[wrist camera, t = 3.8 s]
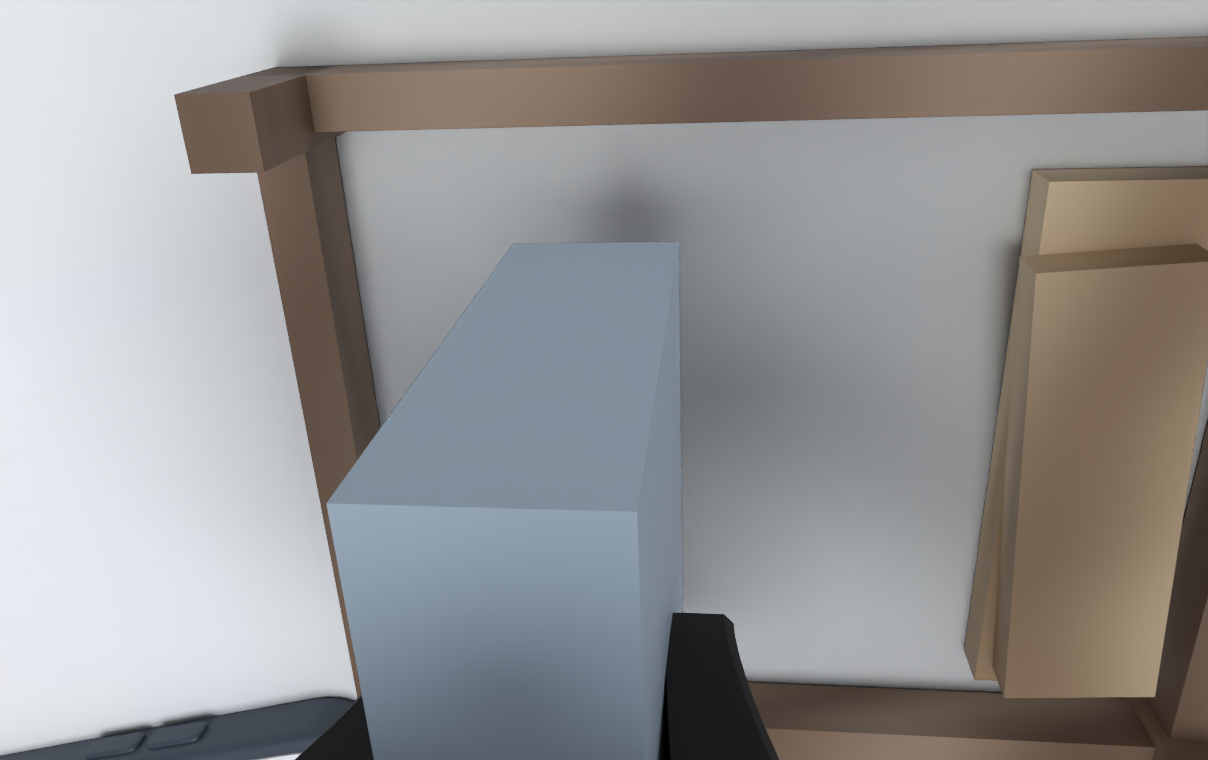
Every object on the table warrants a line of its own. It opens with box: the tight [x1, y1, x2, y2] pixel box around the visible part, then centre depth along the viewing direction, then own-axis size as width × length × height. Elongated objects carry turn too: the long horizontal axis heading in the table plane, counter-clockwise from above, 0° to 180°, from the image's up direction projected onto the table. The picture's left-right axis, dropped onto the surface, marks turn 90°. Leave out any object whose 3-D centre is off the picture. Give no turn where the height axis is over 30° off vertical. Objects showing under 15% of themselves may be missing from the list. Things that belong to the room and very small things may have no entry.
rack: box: [174, 37, 1208, 760], centre depth 15 cm, size 16×13×3 cm
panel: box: [326, 242, 682, 760], centre depth 11 cm, size 2×9×6 cm, turn 2°
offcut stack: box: [964, 167, 1208, 698], centre depth 15 cm, size 3×9×2 cm, turn 2°
